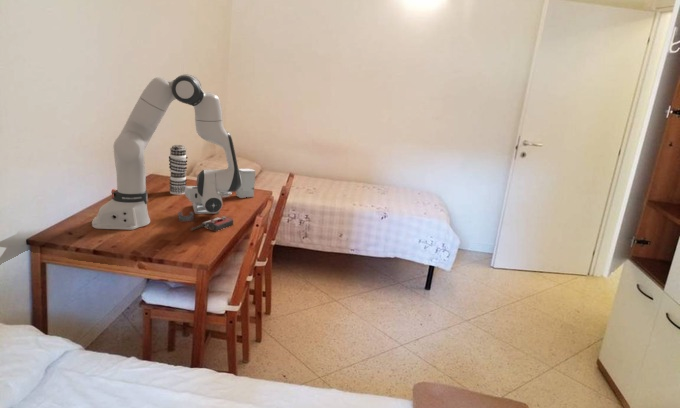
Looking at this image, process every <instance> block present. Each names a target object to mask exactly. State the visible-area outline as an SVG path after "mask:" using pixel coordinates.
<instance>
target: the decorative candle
mask: <svg viewBox="0 0 680 408" xmlns="http://www.w3.org/2000/svg"><path fill="white" fill-rule="evenodd" d="M169 149H170V150H169V151H170V154H169V156H168V162H169V166H168V168H169V172H170V176H169V186H168V187H169V193H170V194H172V195H175V196H176V195H178V196H180V195H181V196H182V195H185V186H187V175H186V172H188V171H187V165H188V160H187V159H188V156H187V153H186V152H187V151H186V150H187V148H186V147H185V146H184V145H181V144H174V145H172V146H171V147H170V148H169Z"/></svg>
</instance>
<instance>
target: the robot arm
mask: <svg viewBox="0 0 680 408" xmlns="http://www.w3.org/2000/svg"><path fill="white" fill-rule="evenodd" d="M175 100H177V101H178V102H179V103H180V102H181V103H182V104H186V105H188V106H192V107H193V110H194V122H195V123H194V124H195V130H196V133H197V134H198V136H199V137H200V138H201V139H203V140H204V141H206V142H209V143H211V144H214V145H217V146H219V147H221V148H222V149H223V150H224V154H225V158H226V162H227V163H226V164H227V168H226V169H224V168H223V169H202V170H201V171H200V172H199V173H198V175H197V177H196V186H195V185H186V186H185V194H184V195H185V197H186V198H187V199H188V201H189V203H193V202H195V203H201V204H202V206H203V207H204V209H205V210H206V211H208V212H211V213H214V212H217V211H219V212H220V210H221V209H222V207H223V198H228V197H230V195H232V194H233V193H234V192H235V193H236V191H237V190H238V189H239V188H240V187H241V176H240V173H239V170H238V169H239V167H238V161H237V157H236V151H235V146H234V142H233V138H232V136H231V133H230V132H229V131H227V130H226V128H225V126H224V123H223V112H222V111H223V110H222V104H221V99H220V98H219V96H218V95H217V94H215V93H212V92H205V91H204V90H203V88H202V84H201V82H200V80H199V79H198V78H197V77H196V76H194V75H192V74H188V73H187V74H184V73H183V74H181V75H179V76H177V77H175V79H173V80H172V81H171V80H168V79H166V78H164V77H154V78H153V79H151V81H150V82H149V83H148V84H146V87H145V88H144V89H143V91H142V93H141V94H140V96H139V98H138V99H137V102H136V103H135V105H134V107H133V109H132V111H131V112H130V115H129V116H128V118H127V120H126V122H125V124H124V126H123V127H122V130H121V131H120V133H119V135H118V136H117V138H116V139H115V141H114V143H113V156H114V164H115V171H116V172H115V173H116V188H113V189H111V200H109V201H107V202H106V203H105V204H103V205H102V206H101V207H100V208H98V209H99V210H98V212H97V215H96V216H95V217H94V218H93V219H92V221H91V226H92V227H93V229H96V230H97V229H98V230H128V231H129V230H131V231H132V230H136V229H138V228H142V227H145V226H148V225H149V224H151V219H150V216H149V212H148V207H147V206H148V205H147V204H148V191H147V188H146V187H147V186H146V185H147V181H146V180H147V179H146V177H147V176H146V166H145V165H146V164H145V149H146V147H147V145H148V144H149V142H150V140H151V139H152V137H153V135H154V134H155V132H156V130H157V128H158V126H159V124H160V123H161V121H162V119H163V118H164V116H165V114H166V112H167V110H168V109H169V107H170V105H171V103H172V102H174V101H175Z"/></svg>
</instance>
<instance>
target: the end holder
mask: <svg viewBox="0 0 680 408" xmlns="http://www.w3.org/2000/svg"><path fill="white" fill-rule="evenodd" d="M192 209H193V213H194V215H210V214H212V215H213V214H215V215H216V214H220V210H219V211H217V212H214V213H211V212H208V211H206V210H205V209H204V207H203V206H202V205H201V204H200V203H195V202H192Z"/></svg>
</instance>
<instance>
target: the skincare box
mask: <svg viewBox="0 0 680 408" xmlns="http://www.w3.org/2000/svg"><path fill="white" fill-rule="evenodd" d="M238 170H239V173H240V176H241V187H240V188H239V189H238V190H237V191H235V195H236V197H238V198H239V199H244V198H246V197H247V198H254V195H255V183H256V170H254V169H252V168H238Z"/></svg>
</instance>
